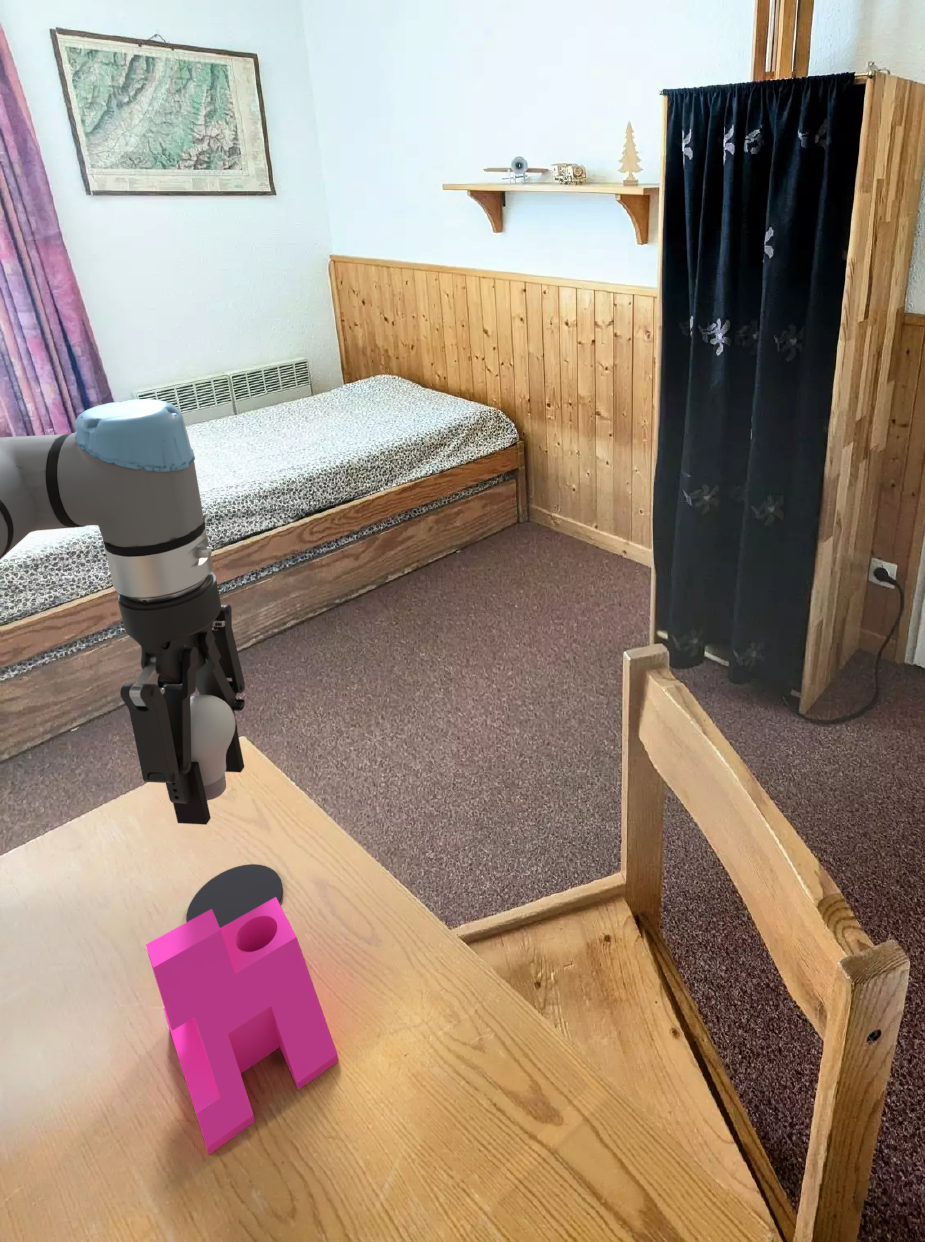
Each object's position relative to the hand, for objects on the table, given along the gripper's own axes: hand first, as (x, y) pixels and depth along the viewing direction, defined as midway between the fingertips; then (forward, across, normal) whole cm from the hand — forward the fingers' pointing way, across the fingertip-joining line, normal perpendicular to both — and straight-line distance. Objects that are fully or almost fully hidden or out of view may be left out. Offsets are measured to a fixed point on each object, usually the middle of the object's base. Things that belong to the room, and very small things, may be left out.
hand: (212, 793), depth 74 cm
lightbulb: (+1, 0, 0) cm, 1 cm away
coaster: (+14, 0, 0) cm, 14 cm away
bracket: (+15, -13, -8) cm, 21 cm away
